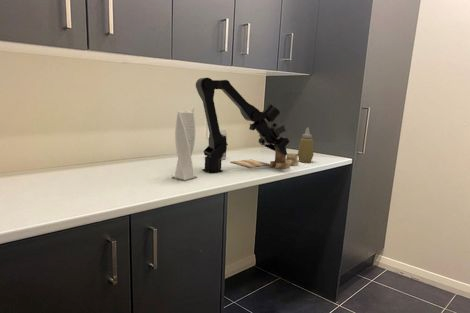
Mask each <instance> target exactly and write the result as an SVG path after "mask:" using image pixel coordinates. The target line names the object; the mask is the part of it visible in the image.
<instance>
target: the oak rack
mask: <svg viewBox="0 0 470 313" xmlns="http://www.w3.org/2000/svg"><path fill="white" fill-rule="evenodd" d="M269 162H270V163H269V164H270V165H269V167H270V168H271V167H272V168H275V170H283V169H284V170H285V169H290V168H291V166H290V163H276V167H274V166H275V160H270V161H269Z"/></svg>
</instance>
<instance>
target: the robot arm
mask: <svg viewBox="0 0 470 313" xmlns="http://www.w3.org/2000/svg"><path fill="white" fill-rule="evenodd" d="M195 89H196V92H197V93H198V96H199V97H200V99H201V101H202V105H203V109H204V114H205V118H206V123H207V128H208V132H209V134H208V135H209V136H208V146H206V148H205V149H204V150H203V154H204V155H203V156H205V157H204V168H202V169H201V170H202V171H204V172H206V173H210V174H215V173H222V172H223V169H222V160H221V158H222V156H223V154H224V152H225V151H226V152H227V150H228V149H227V148H228V147H227V146H228V145H229V144H228V141H227V142H226V136H224V135H221V133H220V129H221V128H220V126H219V120H218V115H217V110H216V105H215V101H214V100H215V99H214V98H215V97H214V96H215V90H221V91H222V92H223V93H224V94H225V95H226V96H227V97H228V98H229V100H231V101H232V102H233V104H234V105H235V106H236V107H237V109H239V111H240V114H241V116H242V117H243V118H244V120H245V121H247V122H252V123H249V128H248V130H250V131H256V132H257V133H258V134H259V135H258V136H259V139H258V143H259V144H260V146H264V148H267V149H270V150H272V151H274V152H276V150H277V151H279V152H280V153H282V154H284V155H286V156H287V153H288V152H287V148H285V147H287V146H288V145H289V143H290V142H291V140H290V139H289V138H288V137H285V136H281V137H280V134H283V133H285V132H286V131H287V130H286V126H285V124H284V123H276V122H274V121H275V120H276V119H277V118H278V117H279V116H280V115H281V111H280V110H279V109H277V107H275V106H274V105H272V104H271V103H270V104H268V105H267V106H266V108H265V109H264V110H262V111H260V110H259V109H258V108H257V107H255V106H254V105H253V104H250V103H249V102H248V101H246V99H245V98H244V97H243V95H241V94H240V92H238V90H237V89H236V88H235V87H234V86H233V84H231V82H230V80H228V79H219V80H217V79H216V80H215V79H214V80H213V79H211V78H210V77H201V78H198V79H197V80H196V82H195ZM269 124H270V125H269ZM226 145H227V146H226Z"/></svg>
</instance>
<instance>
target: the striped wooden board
mask: <svg viewBox="0 0 470 313" xmlns="http://www.w3.org/2000/svg"><path fill="white" fill-rule="evenodd" d="M229 163H230V164H233V165H237V166H241V167H245V168H249V169H252V168H260V167H264V166H265V167H266V166H267V167H268V166H270V163H269V162H263V161H259V160H255V159H251V158H250V159H242V160H234V161H230V162H229Z"/></svg>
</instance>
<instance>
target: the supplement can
mask: <svg viewBox="0 0 470 313" xmlns="http://www.w3.org/2000/svg"><path fill="white" fill-rule="evenodd" d="M219 129H220V133H221V135H224V136H226V142H227V143H228V132H227V129H223V128H219ZM226 146H228V145H226ZM226 158H227V150H226V151H225V152H224V154H223V156H222V158H221V161H222V160H223V161H224V160H225V159H226Z"/></svg>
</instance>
